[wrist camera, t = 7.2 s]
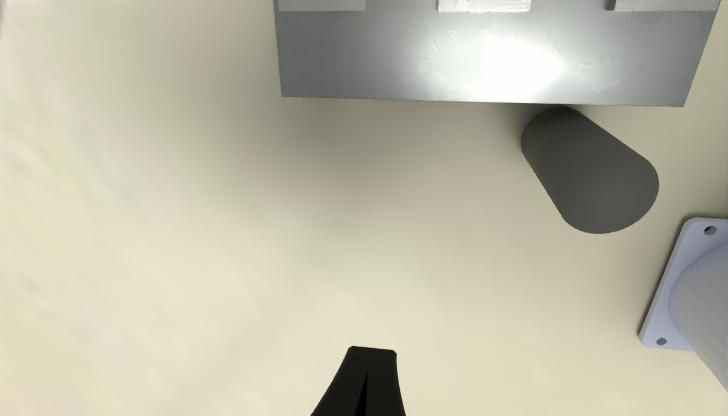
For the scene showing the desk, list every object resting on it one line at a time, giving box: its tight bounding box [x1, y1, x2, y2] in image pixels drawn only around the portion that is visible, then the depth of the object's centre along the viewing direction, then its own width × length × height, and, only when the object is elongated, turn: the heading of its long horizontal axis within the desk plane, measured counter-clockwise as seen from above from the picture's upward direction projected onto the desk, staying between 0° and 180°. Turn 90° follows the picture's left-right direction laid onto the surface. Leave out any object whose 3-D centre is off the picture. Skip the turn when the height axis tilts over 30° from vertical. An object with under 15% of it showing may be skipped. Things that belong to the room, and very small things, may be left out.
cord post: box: [521, 107, 659, 234], centre depth 15 cm, size 3×3×6 cm
